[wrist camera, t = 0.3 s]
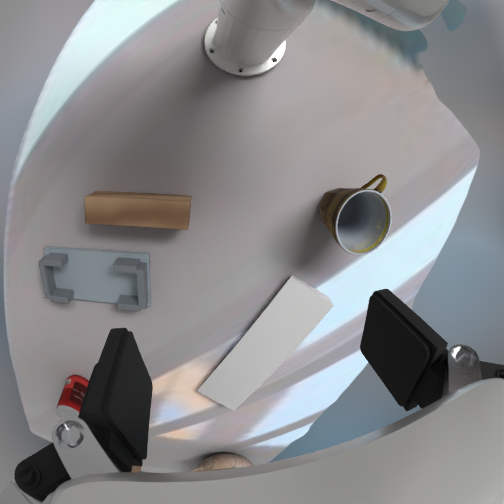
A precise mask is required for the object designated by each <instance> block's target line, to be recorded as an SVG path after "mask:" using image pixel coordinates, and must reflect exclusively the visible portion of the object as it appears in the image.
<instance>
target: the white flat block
mask: <svg viewBox="0 0 504 504" xmlns="http://www.w3.org/2000/svg"><path fill="white" fill-rule="evenodd" d="M332 307H333V304H332V302H331V300H330V298H329V297H328V296H327V295H325V294H323V293H322V292H320V291H318V290H316V289H314V288H313V287H311V286H310V285H309V286H308V284H307V283H305V282H303V281H302V280H300V279H298V278H296V277H295V276H293V275H291V276H290V278H289V279H288V280H287V282H286V283H285V284H284V286H283V287H282V288H281V289H280V291H279V292H278V293H277V295H276V296H275V297H274V298H273V300H272V301H271V302H270V303H269V305H268V306H267V307H266V308H265V310H264V311H263V312H262V313H261V315H260V316H259V317H258V318H257V320H256V321H255V322H254V323H253V325H252V326H251V327H250V328H249V330H248V331H247V332H246V333H245V334H244V336H243V337H242V338H241V339H240V340H239V342H238V343H237V344H236V345H235V346H234V348H233V349H232V350H231V351H230V352H229V354H228V355H227V356H226V357H225V358H224V360H223V361H222V362H221V363H220V364H219V365H218V367H217V368H216V369H215V370H214V371H213V372H212V374H211V375H210V376H209V377H208V378H207V379H206V381H205V382H204V383H203V384H202V385H201V386H200V387H199V389H198V390H197V391H198V392H199V393H201V394H203V395H205V396H207V397H209V398H210V399H212V400H214V401H216V402H218V403H220V404H222V405H224V406H226V407H228V408H230V409H232V410H235V409H236V408H237V407H238V406H239V405H240V404H241V403H243V402H244V401H245V400H246V399H247V398H248V397H249V396H250V395H251V394H252V393H253V392H254V391H255V390H256V389H257V388H258V387H259V386H260V385H261V384H262V383H263V382H264V381H265V380H266V379H267V378H268V377H269V376H270V375H271V374H272V373H273V372H274V371H275V370H276V369H277V368H278V367H279V366H280V365H281V364H282V363H283V362H284V361H285V360H286V359H287V358H288V357H289V356H290V354H291V353H292V352H293V351H294V350H295V349H296V348H297V347H298V346H299V345H300V344H301V342H302V341H303V340H304V339H305V338H306V337H307V336H308V335H309V334H310V332H311V331H312V330H313V329H314V328H315V327H316V326H317V324H318V323H319V322H320V321H321V320H322V319H323V317H324V316H325V315H326V314H327V313H328V312H329V310H330V309H331V308H332Z"/></svg>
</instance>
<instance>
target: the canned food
mask: <svg viewBox="0 0 504 504" xmlns="http://www.w3.org/2000/svg"><path fill="white" fill-rule="evenodd" d="M88 384H89V381H88V380H87V379H85V378H83V377H81V376H78V375H71V376H70V377H69V378H68V379H67V381H66V384H65V386H64V389H63V391H62V394H61V397H60V399H59V402H58V405H57V408H56V412H57V414H58V416H59V417H60V418H61V419H64V418H67V417H77V418H78V416H79V412H80V409H81V405H82V402H83V399H84V396H85V393H86V390H87V387H88Z"/></svg>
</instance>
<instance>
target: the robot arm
mask: <svg viewBox="0 0 504 504" xmlns="http://www.w3.org/2000/svg"><path fill="white" fill-rule="evenodd" d="M331 1H334V2H336V3H339V4H341V5H343V6H346V7H348V8H350V9H352V10H355V11H357V12H359V13H361V14H363V15H365V16H367V17H369V18H372V19H374V20H376V21H378V22H380V23H382V24H384V25H386V26H388V27H391V28H393V29H397V30H401V31H413V30H417V29H420V28H422V27H424V26H426V25H427V24H429V23H430V22H431V21H433V20H434V19H435V18H436V17H437V16H438V15H439V14H440V13H441V11H442V10H443V9H444V8H445V6H446V5H447V3H448V2H449V1H450V0H331ZM314 3H315V0H220V6H219V13H218V17H217V18H216V19H215V20H214V21H213V22H212V23H211V24H210V25H209V27H208V29H207V31H206V34H205V39H204V46H205V50H206V53H207V55H208V57H209V59H210V60H211V61H212V62H213V63H214V64H215V65H216V66H217V67H218V68H220V69H221V70H223V71H225V72H227V73H230V74H233V75H238V76H254V75H259V74H262V73H265V72H267V71H269V70H271V69H272V68H273V67H275V66H276V65H277V64H278V63H279V62H280V60H281V59H282V57H283V55H284V52H285V48H286V39H287V38H288V37H289V35H290V34H291V33H292V32H293V31H294V30H295V29H296V28H297V27H298V26H299V25H300V24H301V23H302V22H303V21H304V19H305V18H306V17H307V16H308V15H309V14H310V12H311V11H312V9H313V6H314ZM211 51H213V53H210V52H211ZM272 60H274V62H273V61H272ZM239 70H242V72H239ZM447 344H448V343H447V342H446V341H445V340H444V339H443V338H442V337H441V336H440V335H438V334H437V333H436V332H435V331H434V330H433V329H432V328H431V327H430V326H429V325H428V324H427V323H426V322H424V321H423V320H422V319H421V318H420V317H419V316H418V315H417V314H416V313H414V312H413V311H412V310H411V309H410V308H409V307H408V306H407V305H406V304H404V303H403V302H402V301H401V300H400V299H399V298H398V297H396V296H395V295H394V294H393V293H392V292H391V291H390V290H388V289H383V290H378V291H375V292H374V293H373V295H372V296H371V297H370V299H369V305H368V310H367V316H366V321H365V326H364V331H363V335H362V340H361V345H360V349H361V352H362V354H363V355H364V357H365V358H366V359H367V361H368V362H369V363H370V365H371V366H372V368H373V369H374V370H375V372H376V373H377V375H378V376H379V377H380V379H381V380H382V381H383V383H384V384H385V386H386V387H387V389H388V390H389V391H390V393H391V394H392V396H393V397H394V399H395V400H396V401H397V403H398V404H399V405H400V406H403V407H404V408H405V410H406V411H409V410H411V409H412V408H415V407H416V406H417V405H419V406H420V410H419V411H417V412H415V413H413V414H411V415H409V416H407V417H405V418H403V419H401V420H399V421H397V422H394V423H393V424H390V425H388V426H386V427H383V428H381V429H379V430H376V431H374V432H372V433H369V434H366V435H364V436H361V437H358V438H356V439H353V440H350V441H348V442H345V443H342V444H339V445H336V446H333V447H330V448H326V449H323V450H320V451H317V452H313V453H309V454H305V455H302V456H298V457H294V458H289V459H285V460H281V461H276V462H271V463H265V464H260V465H254V466H248V467H241V468H233V469H225V470H215V471H202V472H183V473H130V472H131V471H132V466H142V459H146V457H147V444H148V430H149V418H150V408H151V398H152V388H153V387H152V381H151V378H150V376H149V374H148V371H147V369H146V366H145V364H144V362H143V359H142V357H141V354H140V352H139V349H138V346H137V344H136V341H135V338H134V336H133V333H132V332H131V331H129V332H128V330H127V329H126V328H115V329H111V330H110V333H109V335H108V338H107V340H106V343H105V346H104V348H103V351H102V354H101V356H100V359H99V362H98V363H97V364H96V365H95V367H94V369H93V372H92V375H91V378H90V381H89V384H88V387H87V390H86V393H85V396H84V399H83V402H82V405H81V409H80V412H79V416H78V418H77V417H67V418H64V419H62V420H60V421H59V422H58V423H57V424H56V425H55V426H54V429H53V431H52V441H53V443H51V444H50V445H48V446H47V447H45V448H43V449H41V450H40V451H38V452H37V453H35V454H33V455H32V456H30V457H28V458H27V459H25V460H23V461H22V462H20V464H18V466H17V467H16V470H15V481H16V482H15V483H13V482H10V483H9V485H8V486H7V487H6V488H5V489H4V490H3V491H2V493H1V494H0V504H504V365H500V364H494V363H487V362H482V361H479V357H478V354H477V353H476V351H475V350H474V349H472V348H471V347H469V346H467V345H463V344H457V345H453V346H452V347H451V348H450V349H449V351H448V350H447V349H446V347H447Z"/></svg>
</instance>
